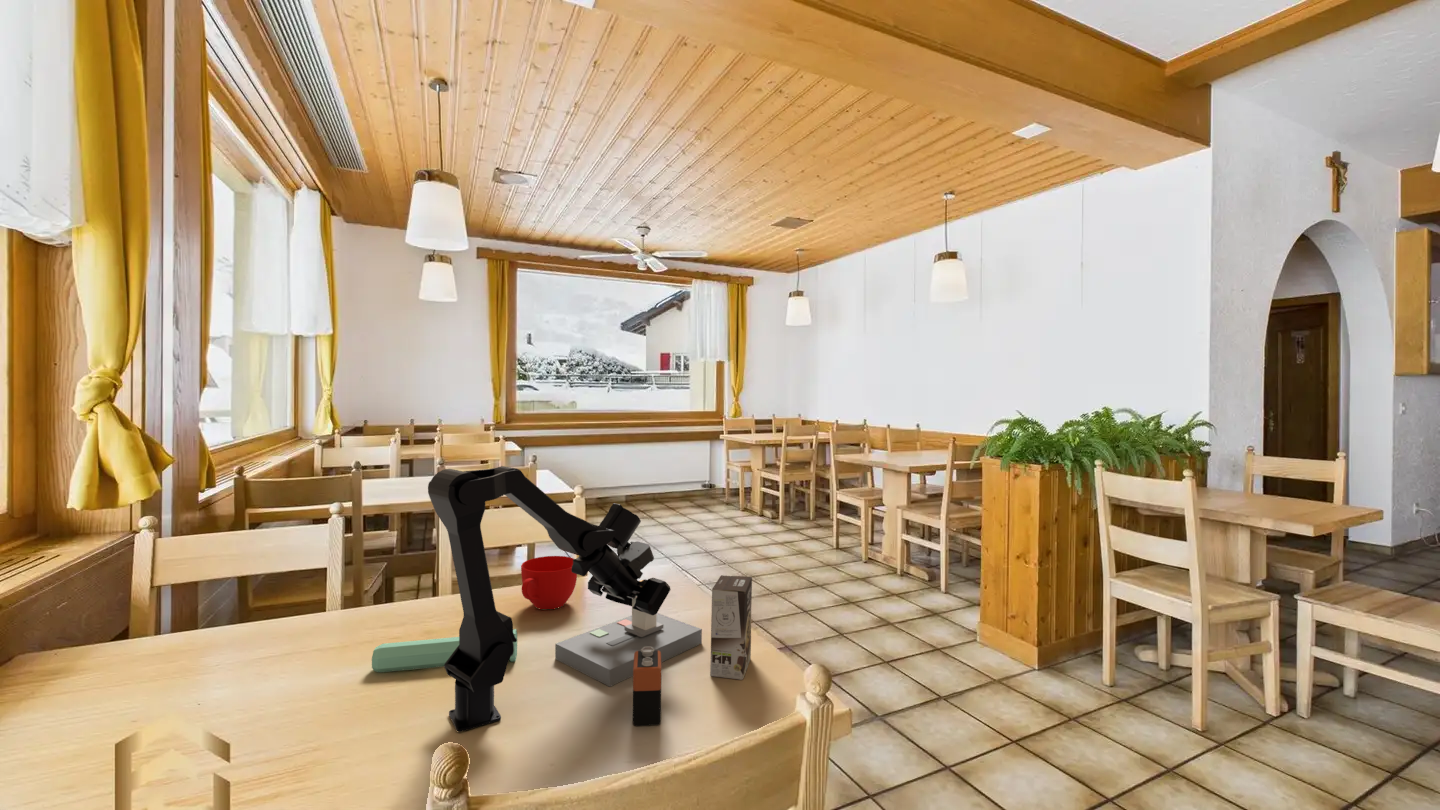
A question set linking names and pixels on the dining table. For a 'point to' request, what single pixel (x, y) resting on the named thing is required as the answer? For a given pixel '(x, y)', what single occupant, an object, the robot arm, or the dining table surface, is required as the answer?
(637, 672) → the battery
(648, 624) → the breaker handle
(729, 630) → the coffee box
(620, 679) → the panel
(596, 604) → the dining table surface
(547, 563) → the ceramic cup
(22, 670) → the dining table surface
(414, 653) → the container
